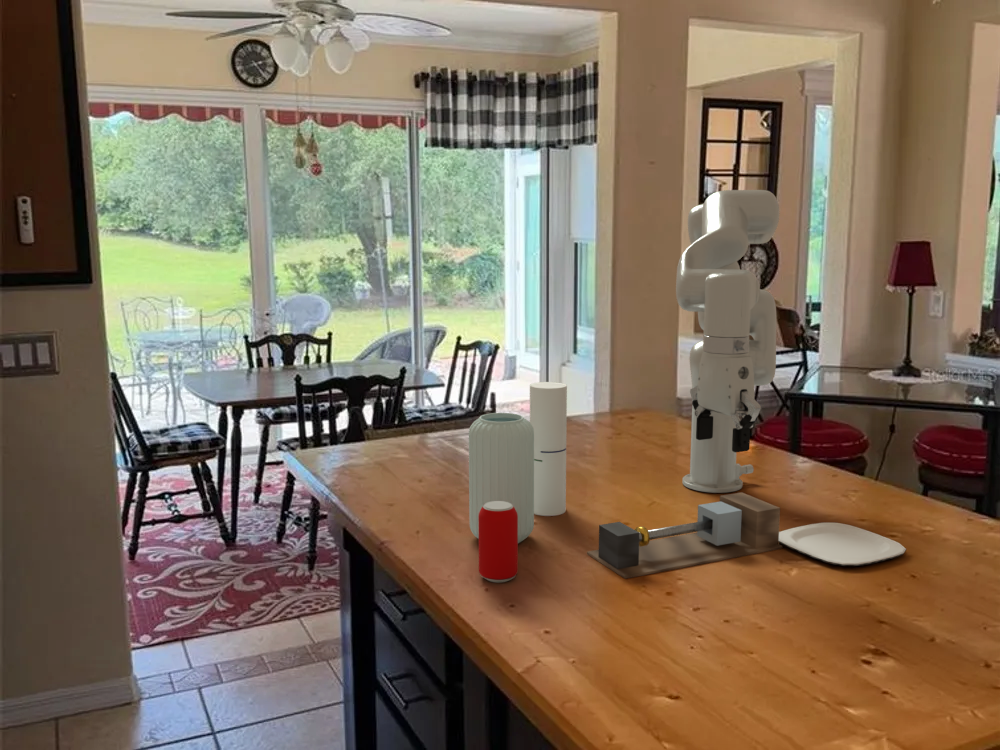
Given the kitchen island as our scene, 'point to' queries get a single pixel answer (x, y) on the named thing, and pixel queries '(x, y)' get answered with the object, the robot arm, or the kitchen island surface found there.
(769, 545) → the slide base
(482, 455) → the vase
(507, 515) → the beverage can
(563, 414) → the cylindrical container
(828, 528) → the plate
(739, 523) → the grey sliding block
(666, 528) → the metal rod
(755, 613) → the kitchen island surface
